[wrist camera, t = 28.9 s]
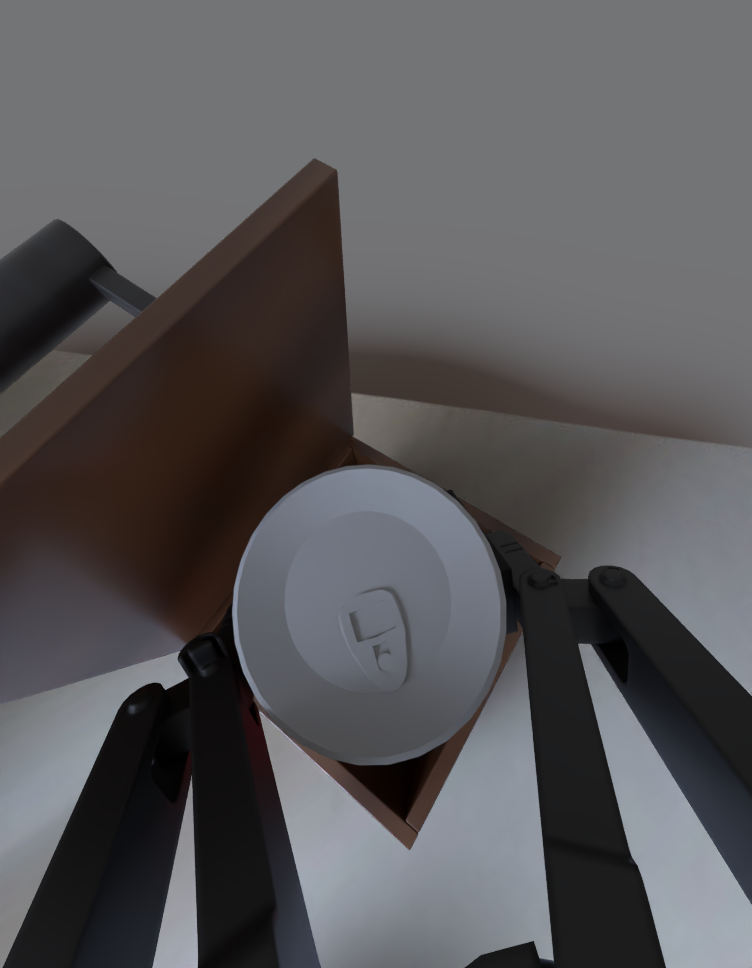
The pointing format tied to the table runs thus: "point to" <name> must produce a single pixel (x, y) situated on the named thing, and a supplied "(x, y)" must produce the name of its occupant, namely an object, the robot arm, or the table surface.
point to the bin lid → (162, 432)
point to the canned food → (369, 615)
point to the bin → (418, 781)
